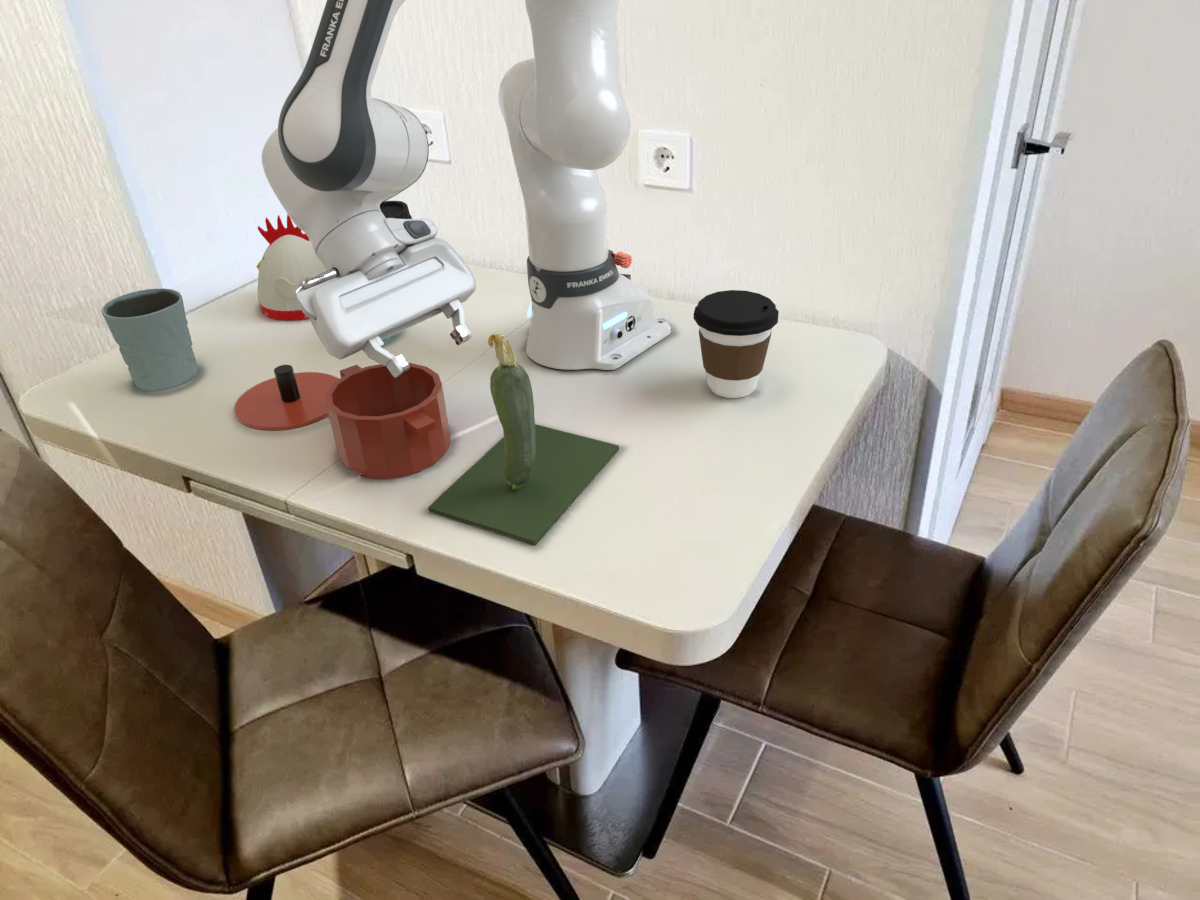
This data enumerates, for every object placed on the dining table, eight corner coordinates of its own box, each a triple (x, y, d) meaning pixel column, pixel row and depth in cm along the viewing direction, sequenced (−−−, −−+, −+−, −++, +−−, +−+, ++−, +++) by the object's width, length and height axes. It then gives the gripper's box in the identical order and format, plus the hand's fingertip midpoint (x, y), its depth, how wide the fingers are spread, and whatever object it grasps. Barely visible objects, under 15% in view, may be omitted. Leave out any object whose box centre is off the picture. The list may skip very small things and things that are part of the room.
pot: (404, 399, 119) (394, 345, 115) (483, 456, 107) (475, 398, 102) (311, 437, 112) (296, 381, 107) (384, 503, 100) (371, 442, 95)
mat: (521, 424, 113) (521, 420, 113) (619, 449, 107) (619, 445, 107) (428, 511, 98) (427, 507, 98) (535, 545, 93) (535, 541, 92)
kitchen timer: (265, 291, 152) (242, 206, 144) (346, 281, 154) (328, 197, 146) (257, 325, 141) (232, 235, 132) (345, 314, 143) (326, 224, 135)
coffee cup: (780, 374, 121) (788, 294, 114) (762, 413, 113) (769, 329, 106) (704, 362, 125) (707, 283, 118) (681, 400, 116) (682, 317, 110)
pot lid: (318, 368, 128) (310, 333, 125) (366, 405, 118) (359, 369, 115) (220, 404, 120) (208, 368, 117) (263, 447, 111) (251, 409, 107)
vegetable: (542, 477, 102) (527, 321, 91) (541, 500, 98) (526, 340, 87) (503, 479, 102) (485, 323, 91) (501, 502, 98) (482, 342, 87)
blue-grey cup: (117, 396, 123) (86, 318, 116) (150, 362, 131) (123, 287, 124) (188, 395, 122) (161, 317, 116) (216, 361, 131) (193, 286, 124)
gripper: (293, 271, 90) (371, 382, 90) (442, 215, 103) (509, 312, 103) (279, 301, 95) (352, 406, 95) (422, 244, 108) (486, 336, 108)
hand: (435, 356), depth 99 cm, fingers open, 8 cm apart
